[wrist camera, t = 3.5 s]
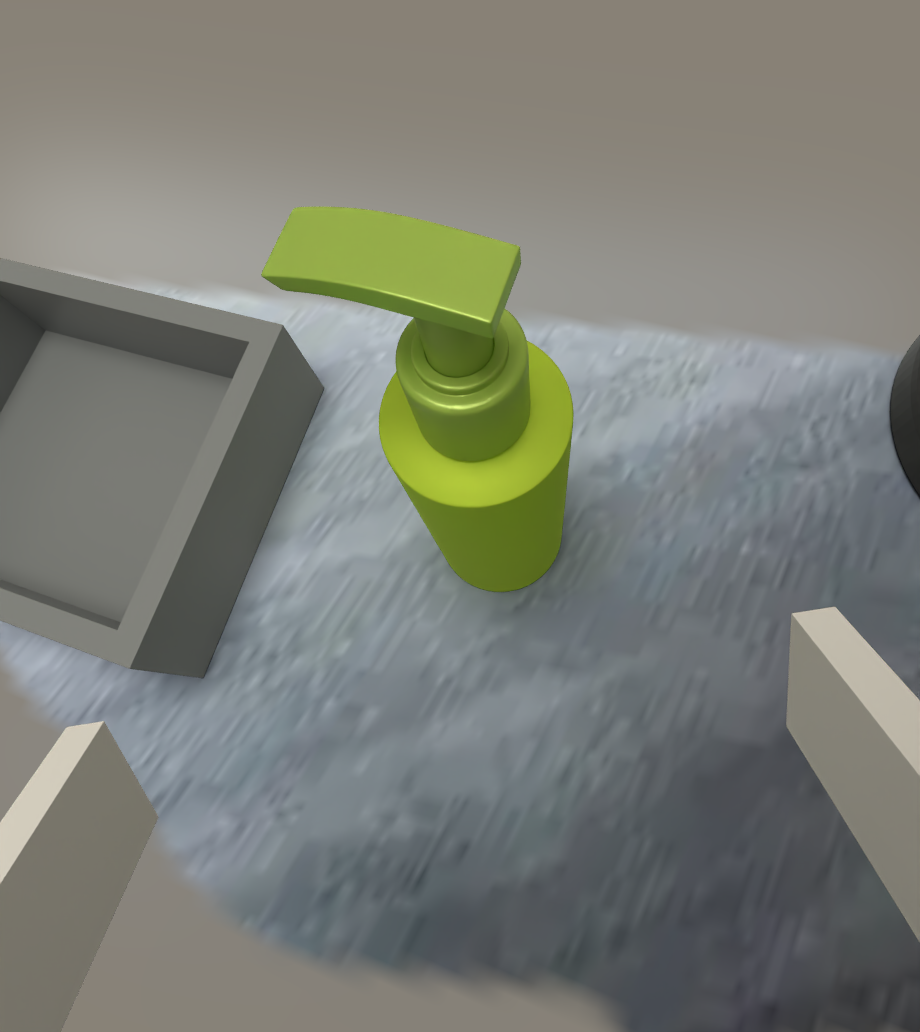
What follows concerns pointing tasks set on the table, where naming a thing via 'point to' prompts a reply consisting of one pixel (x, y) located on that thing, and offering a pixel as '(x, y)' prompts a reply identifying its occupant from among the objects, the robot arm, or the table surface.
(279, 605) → the table surface
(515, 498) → the soap dispenser
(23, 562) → the crate
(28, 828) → the robot arm
